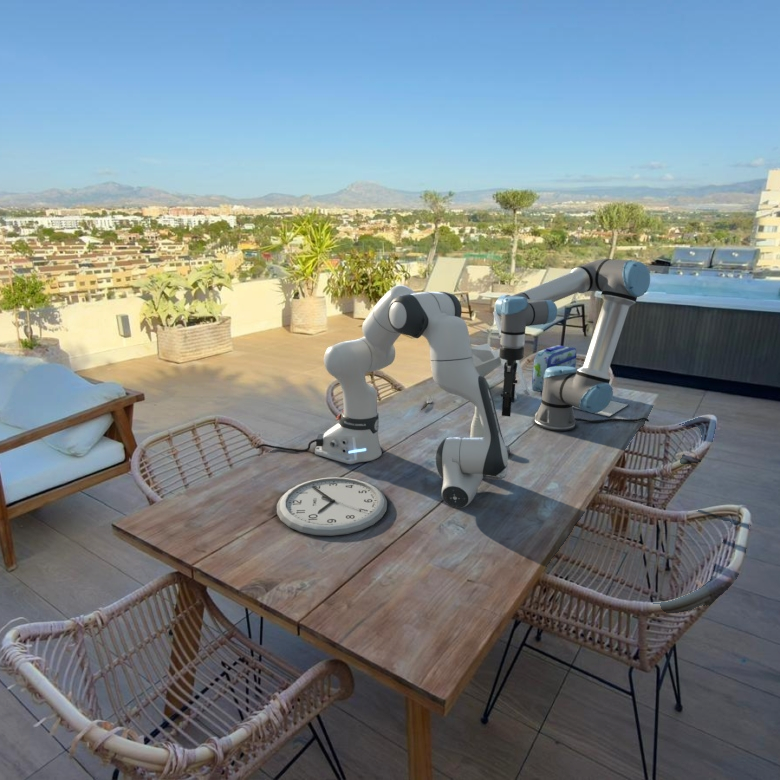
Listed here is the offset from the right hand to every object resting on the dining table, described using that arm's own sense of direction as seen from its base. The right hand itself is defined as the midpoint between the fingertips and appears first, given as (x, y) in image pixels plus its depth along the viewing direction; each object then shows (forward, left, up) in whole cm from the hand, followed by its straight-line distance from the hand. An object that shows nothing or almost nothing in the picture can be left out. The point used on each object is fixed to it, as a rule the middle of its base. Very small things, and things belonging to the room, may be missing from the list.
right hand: (508, 408), depth 173 cm
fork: (+29, -45, -16) cm, 56 cm away
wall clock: (+50, +43, -16) cm, 68 cm away
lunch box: (-29, -77, -16) cm, 84 cm away
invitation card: (-46, -56, -16) cm, 75 cm away
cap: (+1, 0, -14) cm, 14 cm away
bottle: (+10, +17, -16) cm, 25 cm away
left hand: (+10, +16, -10) cm, 21 cm away
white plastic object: (+5, -68, -16) cm, 70 cm away
